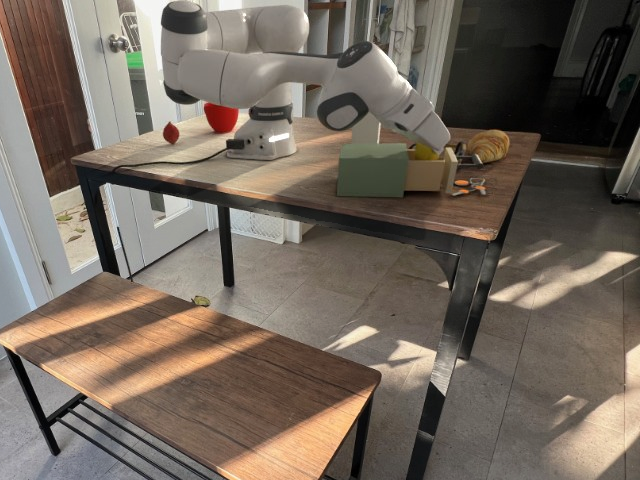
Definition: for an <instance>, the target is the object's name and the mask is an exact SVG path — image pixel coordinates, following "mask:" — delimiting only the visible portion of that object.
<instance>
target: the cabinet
mask: <svg viewBox="0 0 640 480" xmlns="http://www.w3.org/2000/svg"><path fill="white" fill-rule="evenodd" d="M407 149H408V148H407V143H405V142H403V143H401V142H398V143H397V142H396V143H395V142H393V143H392V142H391V143H390V142H389V143H386V142H385V143H384V142H383V143H380V142H379V143H372V144H351V143H342V144H341V148H340V152H339V157H338V166H337V167H338V168H337V169H338V171H337V185H336V188H337V189H336V196H337V197H365V198H367V197H368V198H370V197H371V198H404V192H405V190H404V186H405V179H406V172H407V165H408V153H407Z"/></svg>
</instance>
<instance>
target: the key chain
mask: <svg viewBox="0 0 640 480" xmlns="http://www.w3.org/2000/svg"><path fill="white" fill-rule="evenodd" d="M472 180H477V181H481V182H475V183H474V182H472ZM485 181H486V179H484V178H477V177H476V178H475V177H471V178H469V181H468V180H462V179H459V180H454V184H455V186H461V187H465V186H466V187H467V186H469V185H470V187H471V188H472V189H459V190H458V191H457V192H454V193H451V196H453V197H455V196H459V195H461V194H469V192H474V191H476V190H478V191H479V192H480V194H481V195H482V196H486V195H487V193H486V186H485V187H484V186H483V185H484V183H485Z"/></svg>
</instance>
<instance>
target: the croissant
mask: <svg viewBox="0 0 640 480" xmlns="http://www.w3.org/2000/svg"><path fill="white" fill-rule="evenodd" d="M509 147H510V137H509V136H508V134H506V133H505V132H504V131H502V130H501V129H489V130H483V131H482V132H479V133H477V134H475V135H474V136H473V137H472V138H471V139H470V140H468V143H467V149H468V153H469V156H472V155H473V154H477V155H478V157H479V159H480V160H481V162H482V164H486V163H491V162H497V161H499V160H501V159H504V158H505V157H507V154H508V151H509Z"/></svg>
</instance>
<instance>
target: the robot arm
mask: <svg viewBox="0 0 640 480" xmlns="http://www.w3.org/2000/svg"><path fill="white" fill-rule="evenodd" d="M160 26H161V32H160V33H161V34H160V56H161V65H162V67H161V68H162V74H163V81H162V84H163V88H164V93H165V95H166V96H167V97H168V99H169V100H171V101H172V102H173V103H175V104H179V105H183V106H184V105H186V106H188V105H190V106H191V105H194V104H197V103H199V102H200V101H204V102H205V103H208V102H209V103H212V104H216V105H220V106H224V107H229V108H234V109H239V110H248V117H249V119H248V120H247V121H246V122H244V123H243V124H242V125H241V126H240V127H239V128H238V129H237V130H236V131H235V132H234V135H233V138H228V139H226V140H225V148H223V149H221V150H219V151H217V152H215V153H214V154H212V155H210V156H206V157H204V158H200V159H196V160H191V161H190V160H189V161H166V160H164V161H163V160H162V161H160V160H159V161H151V162H150V161H149V162H148V161H147V162H143V163H136V164H135V163H134V164H120V165H117V166H115V167H114V168H113V169H112V170H111V171H110V173H111V174H113V173H115V172H116V171H117V170H118V169H121V168H138V167H144V166H151V165H162V164H163V165H164V164H165V165H175V166H176V165H177V166H179V165H180V166H181V165H190V164H197V163H202V162H205V161H209V160H210V159H213V158H215V157H217V156H219V155H220V154H222V153H224V152H226V157H227V158H230V159H246V160H259V161H260V160H261V161H272V160H276V159H279V158H283V157H286V156H291V155H293V154H295V153H296V152H297V151H298V148H297V146H296V141H295V136H294V128H293V121H294V103H293V102H292V83H293V84H305V85H317V86H321V87H322V88H321V92H320V94H319V99H318V104H317V109H316V115H317V116H316V117H317V120H318V121H319V122H320V124H321V125H322V126H323V127H324V128H326V129H328V130H330V131H333V132H344V131H347V130H349V129H352V127H353V126H354V125H355V124H357V123H358V122H359V121H360V120H362V119H363V118H364V117H365V116H366V115H367V113H368V112H370V113H372V114H373V115H374V117H375V118H376V119H377V120H378V121H379V122H380V123H381V126H382V127H383V129H385V130H389V131H391V132H393V133H395V134H397V135H399V136H402V137H404V138H406V139H409V140H410V141H412V142H413V144H416V145H417V142H418V143H420V144H422V145H425V146H427V147H429V148H431V150H432V152H433V153H435V154H437V155H441V154H442V153H443V152H444V151H445V147H444V146H445V145H446V144H449V142H450V140H451V133H450V131H449V130H448V128H447V127H446V125H445V124H444V122H443V121H442V119H441V118H440V116H439V115H438V114H437V112H435V111H434V109H435V106H434V103H432V102H431V100H430V99H427V98H426V97H424V96H422V95H421V94H419V93H418V91H417V90H416V89H415V88H414V87H412V85H411V84H410V83H409V81H408V80H407V79H406V78H404V77H403V76H401V75H400V74H399V71H398V67H397V66H396V65H395V64H394V62H393V61H392V60H391V58H390V56H388V55H387V54H386V53H385V51H383V50H382V48H380V47H379V46H378V45H377V44H375V43H374V42H371V41H368V40H361V41H357V42H356V43H353V44H352V45H350V46H349V47H348V48H346V49H345V50H344V51H343V52H339V53H332V54H317V53H306V52H300V50H301V49H302V47H303V46H304V45H305V44H306V43H307V40H308V38H309V33H310V21H309V17H308V15H307V13H306V12H305V11H304V10H303V9H301V8H299V7H296V6H293V5H289V4H279V5H266V6H265V5H264V6H255V7H254V6H253V7H245V8H236V9H225V10H214V11H204V9H203V7H202V6H201V5H199V4H198V3H195V2H193V1H190V0H174V1H170V2H168V3H167V4H166V5H165V6H164V7H163V9H162V11H161V16H160ZM416 145H415V146H416ZM116 229H117V230H116V231H117V234H118V235H117V236H118V239H119V242H120V246H121V250H122V253H123V257H124V260H125V263H126V267H127V272H128V275H129V280H130V283H131V282H133V283H134V280H133V274H132V271H131V268H130V267H131V266H130V263H129V259H128V256H127V252H126V249H125V245H124V241H123V238H122V234H121V230H120V226H116Z"/></svg>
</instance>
